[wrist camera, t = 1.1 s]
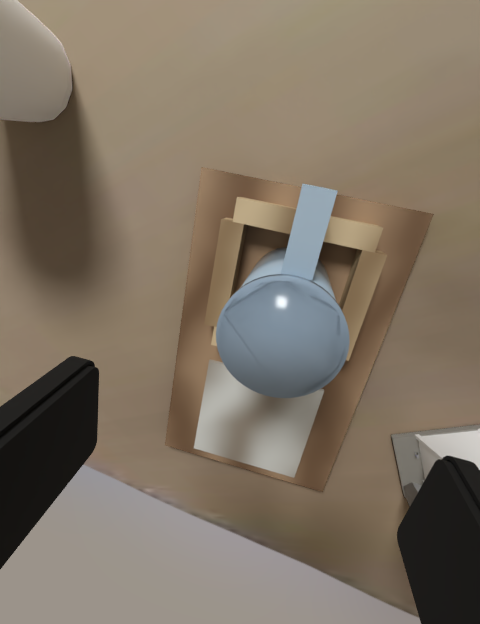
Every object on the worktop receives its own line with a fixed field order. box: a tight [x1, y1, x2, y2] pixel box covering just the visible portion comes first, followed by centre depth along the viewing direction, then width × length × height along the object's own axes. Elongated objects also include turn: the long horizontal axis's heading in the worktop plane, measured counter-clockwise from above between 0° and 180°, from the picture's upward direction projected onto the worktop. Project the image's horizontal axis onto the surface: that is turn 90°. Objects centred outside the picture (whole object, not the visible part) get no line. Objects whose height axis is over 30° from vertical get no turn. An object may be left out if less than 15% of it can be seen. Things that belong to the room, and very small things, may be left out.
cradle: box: [204, 197, 387, 361], centre depth 24 cm, size 11×11×2 cm
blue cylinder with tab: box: [216, 184, 350, 398], centre depth 19 cm, size 10×6×10 cm, turn 169°
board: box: [165, 167, 434, 492], centre depth 27 cm, size 16×26×2 cm, turn 169°
